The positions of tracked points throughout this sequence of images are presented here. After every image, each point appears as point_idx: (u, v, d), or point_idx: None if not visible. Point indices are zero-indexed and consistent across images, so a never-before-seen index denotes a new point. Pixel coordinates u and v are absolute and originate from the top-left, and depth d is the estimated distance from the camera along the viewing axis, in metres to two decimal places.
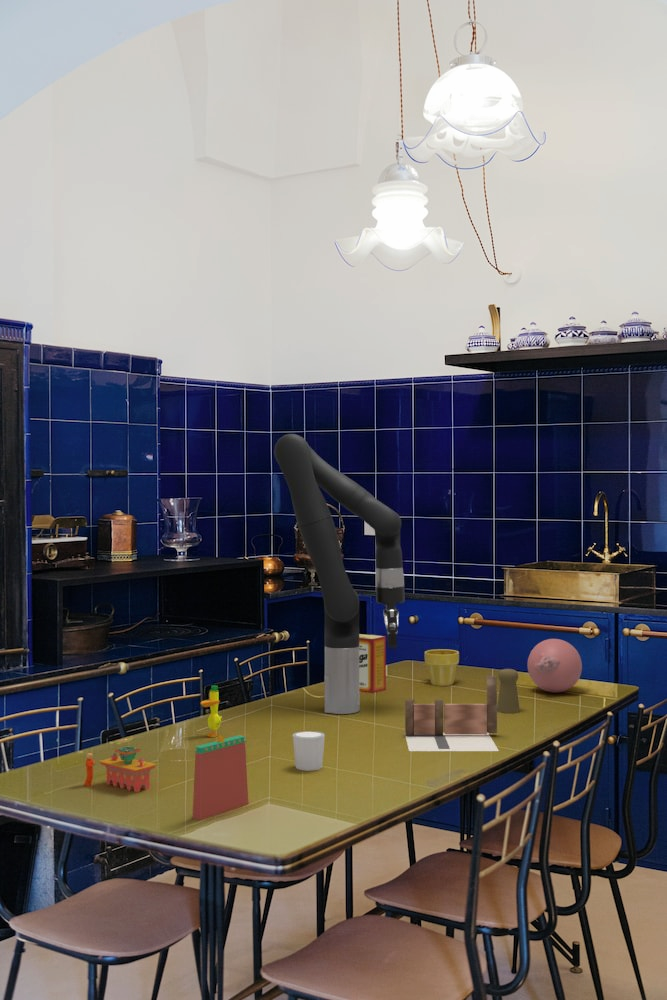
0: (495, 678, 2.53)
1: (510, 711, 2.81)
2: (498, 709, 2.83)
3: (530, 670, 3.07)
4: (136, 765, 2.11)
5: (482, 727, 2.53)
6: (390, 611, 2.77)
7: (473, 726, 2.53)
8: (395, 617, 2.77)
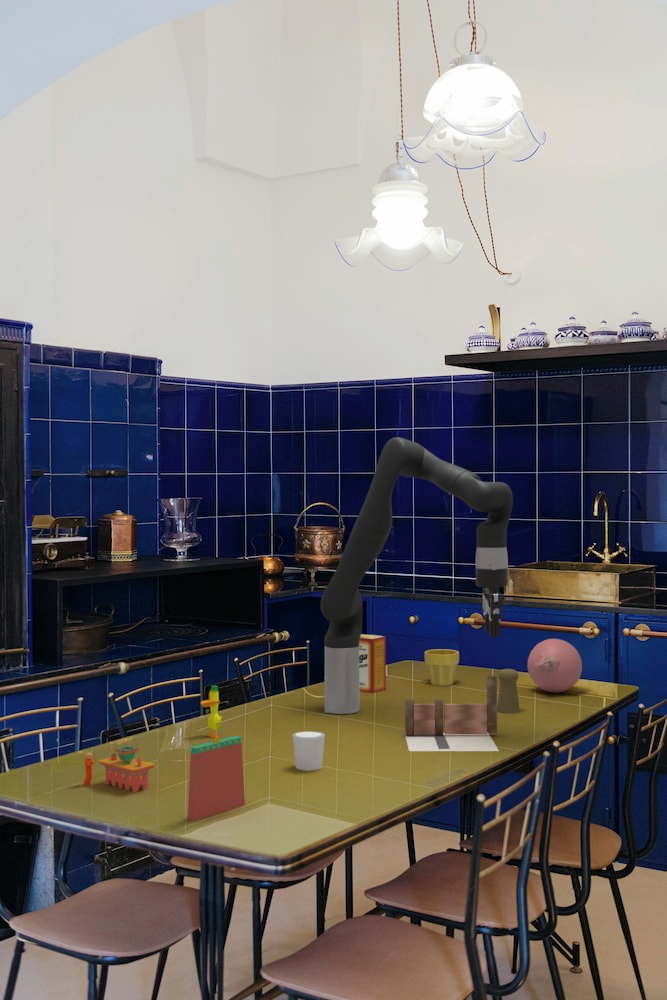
0: (495, 678, 2.53)
1: (510, 711, 2.81)
2: (498, 709, 2.83)
3: (530, 670, 3.07)
4: (134, 765, 2.11)
5: (482, 727, 2.53)
6: (494, 595, 2.47)
7: (473, 726, 2.53)
8: (499, 602, 2.47)
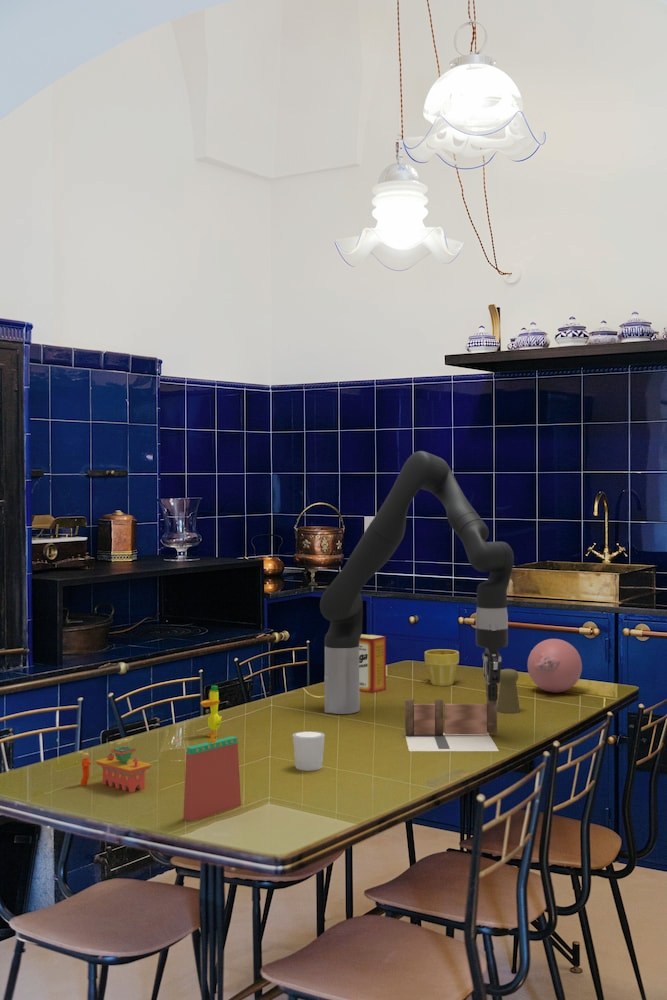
0: None
1: (510, 711, 2.81)
2: (498, 709, 2.83)
3: (530, 670, 3.07)
4: (131, 765, 2.11)
5: (482, 727, 2.53)
6: (494, 665, 2.47)
7: (473, 726, 2.53)
8: (498, 670, 2.48)
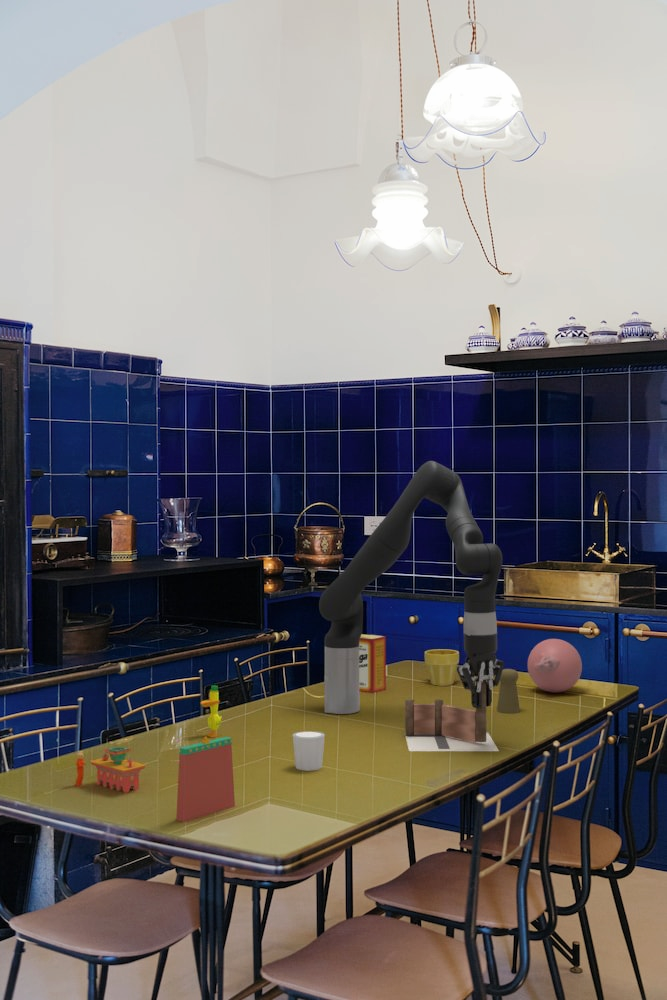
0: (481, 685, 2.43)
1: (510, 711, 2.81)
2: (498, 709, 2.83)
3: (530, 670, 3.07)
4: (125, 765, 2.10)
5: (471, 734, 2.46)
6: (459, 670, 2.41)
7: (464, 731, 2.47)
8: (465, 676, 2.40)
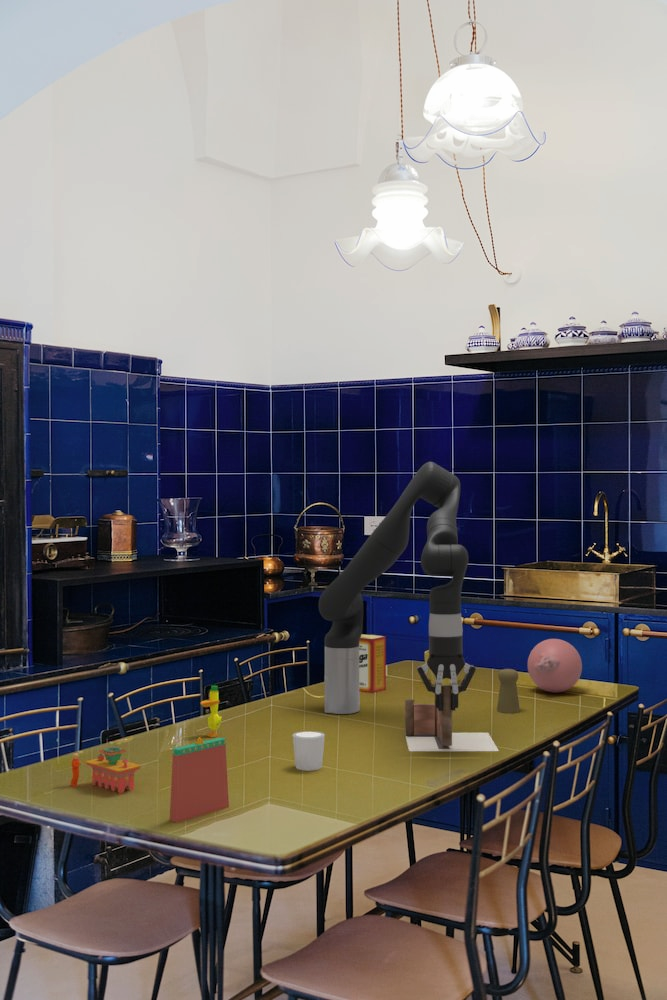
0: (442, 688, 2.40)
1: (510, 711, 2.81)
2: (498, 709, 2.83)
3: (530, 670, 3.07)
4: (120, 766, 2.10)
5: None
6: (417, 669, 2.41)
7: None
8: (420, 676, 2.40)
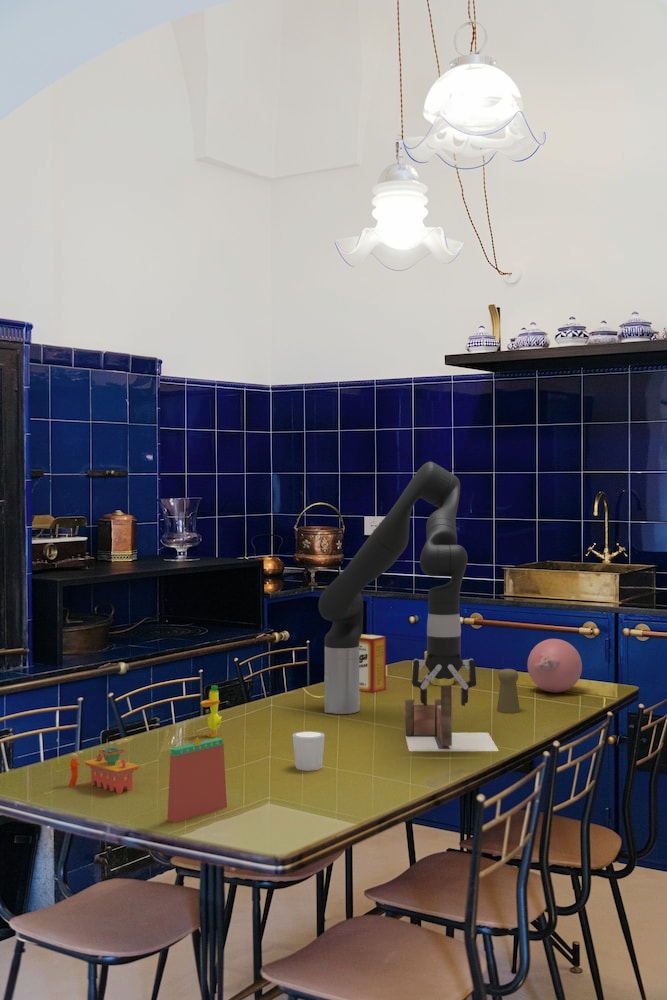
0: (442, 688, 2.40)
1: (510, 711, 2.81)
2: (498, 709, 2.83)
3: (530, 670, 3.07)
4: (119, 766, 2.10)
5: None
6: (413, 660, 2.41)
7: None
8: (413, 668, 2.40)
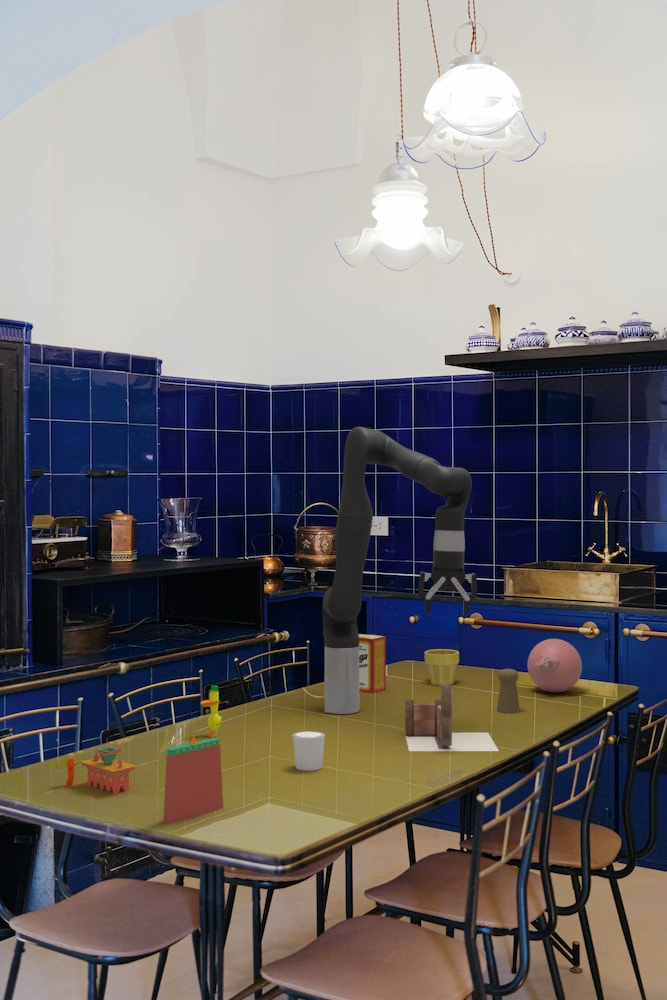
0: (442, 688, 2.40)
1: (510, 711, 2.81)
2: (498, 709, 2.83)
3: (530, 670, 3.07)
4: (115, 766, 2.10)
5: None
6: None
7: None
8: (419, 580, 2.61)
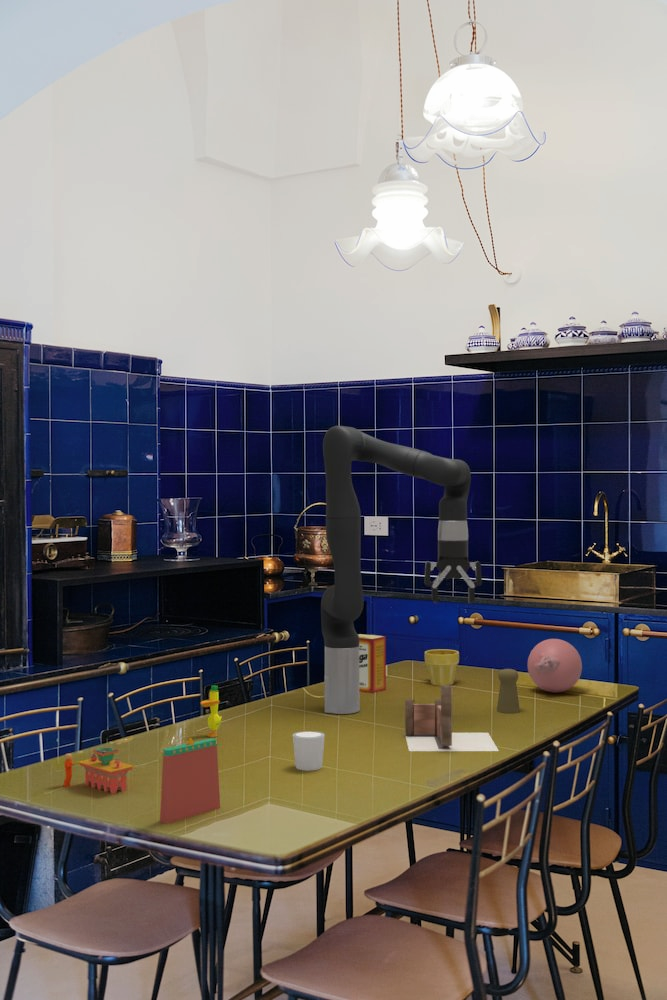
0: (442, 688, 2.40)
1: (510, 711, 2.81)
2: (498, 709, 2.83)
3: (530, 670, 3.07)
4: (113, 766, 2.10)
5: None
6: (426, 563, 2.70)
7: None
8: (425, 570, 2.69)
